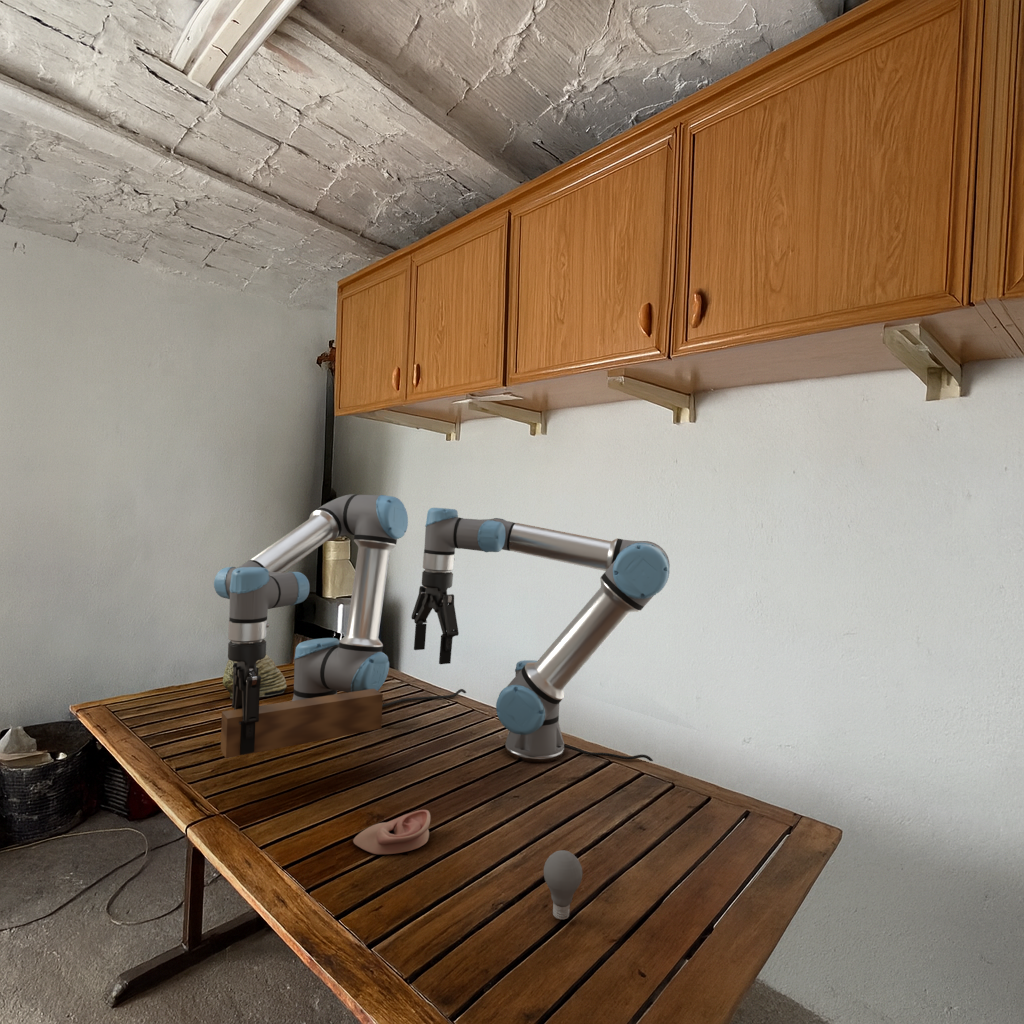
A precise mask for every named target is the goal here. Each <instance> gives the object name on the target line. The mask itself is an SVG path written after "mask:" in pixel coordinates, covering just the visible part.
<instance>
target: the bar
mask: <svg viewBox="0 0 1024 1024" xmlns="http://www.w3.org/2000/svg"><path fill="white" fill-rule="evenodd" d="M383 695H384V694H383V693H382V692H380V691H379V690H378V691H377V690H376V689H368V690H361V691H355V692H348V693H347V692H342V693H337V694H335V695H328V696H322V697H315V698H308V699H302V700H295V701H292V700H290V701H289V700H288V701H283V702H276V703H269V704H262V705H259V721H258V722H255V745H254V752H252V753H247V754H242V755H241V754H240V736H241V725H239V722H241V721H242V720H243V714H242V709H236V710H234V709H230V710H224V711H221V727H220V728H221V730H220V752H221V753H222V755H223V756H224V758H225V759H231V758H234V757H240V756H245V755H252V754H257V753H261V752H266V751H272V750H276V749H282V748H287V747H291V746H292V747H293V746H298V745H303V744H307V743H312V742H317V741H323V740H328V739H334V738H339V737H343V736H350V735H354V734H359V733H360V734H361V733H365V732H370V731H376V730H379V729H380V730H381V729H382V725H383V724H382V722H383V721H382V720H383V707H382V704H383V699H384V696H383Z"/></svg>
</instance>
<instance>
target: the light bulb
mask: <svg viewBox="0 0 1024 1024" xmlns="http://www.w3.org/2000/svg"><path fill="white" fill-rule="evenodd" d="M543 877H544V878H543V879H544V881H545V884H546V885H547V887H548V889H549V892H550V896H551V898H550V899H551V900H552V915H553V917H554V918H555V919H558V920H566V919H569V917H570V910H571V909H570V908H571V904H572V901H573V898H574V894H575V893H576V891H577V890H578V889H579V887H580V885H581V883H582V880H583V866H582V864H581V862H580V860H579V859H578V857H577V856H575V854H573V853H572V852H570V851H568V850H564V849H561V850H556V851H555V852H553V853H552V854H550V855H549V856H548V857H547V859H546V861H545V862H544V865H543Z"/></svg>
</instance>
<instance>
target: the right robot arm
mask: <svg viewBox="0 0 1024 1024" xmlns="http://www.w3.org/2000/svg"><path fill="white" fill-rule="evenodd" d="M458 514H459V513H458V510H457V509H455V508H446V507H431V508H429V509H428V510H427V513H426V520H425V525H424V527H425V533H424V549H423V556H422V568H423V569H424V570H423V571H422V572H421V573H422V574H421V585H420V586H419V588H418V595H417V598H416V601H415V604H414V607H413V611H412V614H411V617H410V618H411V620H414V621H413V622H414V624H415V627H414V628H415V629H414V639H413V640H414V641H413V650H414V651H420V650H421V651H422V650H425V649H426V636H427V623H428V621H427V619H428V618H429V616H430V614H431V612H432V610H433V611H434V612H435V613H436V614H437V619H438V622H439V625H440V626H439V627H440V628H441V632H442V634H441V635H440V645H439V657H438V659H439V660H438V664H439V665H447V664H451V663H452V662H451V661H452V649H453V638H454V637H458V636H459V627H458V620H457V614H456V608H455V595H454V594H453V593H451V594H448V589H450V588H452V587H453V580H454V573H453V570H454V566H455V565H454V564H455V561H456V560H455V554H456V549H458V550H470V551H478V552H484V553H499V552H501V551H507V552H514V553H518V554H523V555H527V556H533V557H538V558H543V559H546V560H551V561H557V562H560V563H566V564H570V565H574V566H580V567H584V568H589V569H594V570H598V571H599V570H600V571H603V574H602V575H601V576H600V588H598V590H597V591H596V592H595V594H593V595H592V597H591V598H589V600H588V601H587V602H586V604H585V605H584V606H583V607H582V609H581V610H580V611H579V612H578V613H577V614H576V616H575V617H574V618H572V620H571V621H570V623H569V624H568V625H567V626H566V627H565V628H564V630H563V631H562V632H560V634H559V635H558V636H557V637H556V639H554V641H553V642H552V643H551V644H550V646H549V647H548V648H547V649H546V650H545V652H544V653H542V655H541V656H540V657H539V658H538V659H537V660H535V659H534V660H533V659H532V660H531V659H530V660H529V659H528V660H526V659H525V660H518V661H517V662H516V664H515V669H514V673H515V677H514V678H512V680H511V681H510V682H509V683H508V684H507V685H506V687H504V688H503V689H502V690H501V691H500V692H499V694H498V697H497V699H496V702H495V703H496V704H495V711H496V715H497V718H498V720H499V722H500V723H501V725H502V726H503V727H504V728H505V729H506V730H508V731H507V732H508V733H507V736H506V738H505V744H504V745H505V748H504V749H505V753H506V754H507V755H509V756H510V757H511V758H513V759H516V760H519V761H524V762H526V763H527V762H528V763H550V762H554V761H557V760H559V759H561V758H562V757H564V755H565V749H568V750H571V751H575V752H578V753H581V754H584V755H588V756H597V757H598V756H601V757H603V756H605V757H610V758H616V759H620V760H629V761H630V760H631V761H632V760H636V759H643V758H644V759H647V760H648V761H649V762H654V759H653V758H652V757H650V755H647V754H635V755H632V756H631V755H630V756H625V755H619V754H615V753H610V752H591V751H586V750H582V749H581V748H579V747H575V746H572V745H569V744H565V741H564V737H563V733H562V729H561V727H560V722H559V718H560V703H561V702H562V701H563V699H564V698H565V687H566V686H567V685H568V684H569V683H570V682H571V680H572V679H573V678H574V677H575V676H576V675H577V674H578V672H579V671H580V670H581V669H582V668H583V666H584V665H585V664H586V663H587V662H588V661H589V660H590V659H591V657H592V656H593V655H594V654H595V653H596V652H597V651H598V650H599V649H600V647H601V646H602V645H603V644H604V643H605V642H606V640H607V639H608V638H609V637H611V634H613V633H614V631H615V630H616V629H617V628H618V627H619V626H620V625H621V623H622V622H623V621H624V620H625V619H626V617H628V615H630V613H639V612H641V611H642V610H643V609H644V608H645V606H647V604H648V603H649V602H650V601H651V600H652V599H653V597H654V596H656V595H657V594H659V593H660V592H661V591H662V590H663V589H664V588H665V586H666V585H667V583H668V580H669V577H670V567H671V565H670V559H669V556H668V554H667V553H666V551H665V549H664V548H663V547H661V546H660V545H659V544H657V543H655V542H653V541H650V540H649V541H648V540H631V539H622V538H617V537H616V538H615V539H613V540H608V539H607V540H606V539H601V538H597V537H592V536H586V535H582V534H576V533H571V532H566V531H561V530H555V529H551V528H545V527H540V526H535V525H529V524H525V523H519V522H514V521H509V520H505V518H500V517H494V518H489V519H488V518H487V519H486V518H485V519H478V518H476V519H474V518H463V517H459V515H458Z"/></svg>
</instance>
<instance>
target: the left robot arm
mask: <svg viewBox="0 0 1024 1024" xmlns="http://www.w3.org/2000/svg"><path fill="white" fill-rule="evenodd" d="M408 526H409V517H408V511H407V508H406V507H405V504H404V502H403V501H402V500H401V499H400V498H398V497H396V496H392V495H385V494H358V493H351V494H350V493H349V494H345V495H342V496H339V497H337V498H335V499H332V500H330V501H328V502H326V503H324V504H323V505H321V506H319V507H318V508H317V509H315V510H313V511H312V512H311V513H310V515H309V518H308V519H307V520H305V521H304V522H303V523H301V524H300V525H298V526H297V527H295V528H294V529H292V530H291V531H289V532H287V534H285V535H284V536H282V537H281V538H279V539H278V540H276V541H275V542H273V543H272V544H270V545H269V546H268V547H265V549H262V551H260V552H258V553H257V554H255V555H254V556H253V557H252V558H250V559H248V560H247V561H245V562H244V563H242V564H241V565H239V566H237V567H236V566H226V567H224V568H222V569H220V570H219V571H218V572H217V573H216V574H215V578H214V581H213V588H214V591H215V593H216V594H217V595H218V596H219V597H220V598H222V599H227V600H229V616H228V617H229V618H228V635H227V638H228V640H229V642H228V644H227V659H228V660H231V661H234V662H237V663H233V696H232V698H231V699H232V700H231V708H232V709H233V710H236V709H242V714H243V720H242V721H241V722H239V725H241V736H240V754H241V756H243V755H242V754H246V755H248V754H247V753H251V754H253V753H252V752H254V745H255V722H258V721H259V706H260V697H259V695H260V682H261V676H260V675H259V676H258V674H259V673H258V667H257V668H256V662H257V661H258V660H261V659H263V658H264V657H265V656H266V654H267V640H265V639H266V638H267V628H269V627H270V623H269V622H268V611H269V610H271V609H276V608H282V607H287V606H291V607H292V606H294V605H297V604H301V603H303V602H304V601H305V600H307V598H308V596H309V594H310V589H311V588H310V581H309V579H308V577H307V576H306V575H305V574H304V573H302V572H300V571H289V569H291V568H293V566H295V565H296V564H298V563H299V562H300V561H302V560H303V559H305V558H306V557H307V556H309V555H310V554H311V553H312V552H314V551H315V550H316V549H318V548H319V547H321V546H322V545H323V544H324V543H326V542H332V541H335V540H336V539H338V538H339V537H342V536H354V537H353V542H354V543H355V544H356V546H357V555H356V563H355V569H354V576H353V577H354V578H353V583H352V590H351V591H352V592H351V598H350V604H349V605H350V606H349V612H348V619H347V626H346V632H345V633H346V634H345V636H344V637H343V638H341V639H340V640H339V638H336V637H322V638H313V639H307V640H304V641H302V642H299V643H298V644H297V645H296V647H295V652H294V653H295V654H294V657H293V659H294V660H293V662H294V663H293V665H294V667H293V695H292V696H293V697H292V699H291V701H295V700H302V699H308V698H315V697H322V696H328V695H335V694H338V692H342V693H348V692H355V691H361V690H368V689H376V690H377V691H379V690H380V689H381V687H382V686H383V685H384V684H385V682H386V679H387V677H388V674H389V670H390V661H389V656H388V655H387V654H385V653H384V652H383V647H384V644H383V642H382V641H381V640H380V638H379V635H380V626H381V620H382V613H383V605H384V599H385V591H386V583H387V575H388V569H389V561H390V553H391V551H392V550H393V549H394V548H395V547H397V542H398V540H400V539H402V538H403V537H404V536H405V534H406V533H407V530H408ZM287 571H288V572H287ZM460 693H463V694H467V691H466V690H465V689H463V688H460V689H458V690H457V691H455V693H452V694H447V695H431V696H416V697H406V698H400V699H396V700H393V701H389V702H385V703H382V708H386V707H389V706H392V705H396V704H400V703H404V702H411V701H421V700H422V701H424V700H425V701H427V700H441V699H442V700H443V699H451V698H455V697H457V696H458V695H459V694H460Z"/></svg>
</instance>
